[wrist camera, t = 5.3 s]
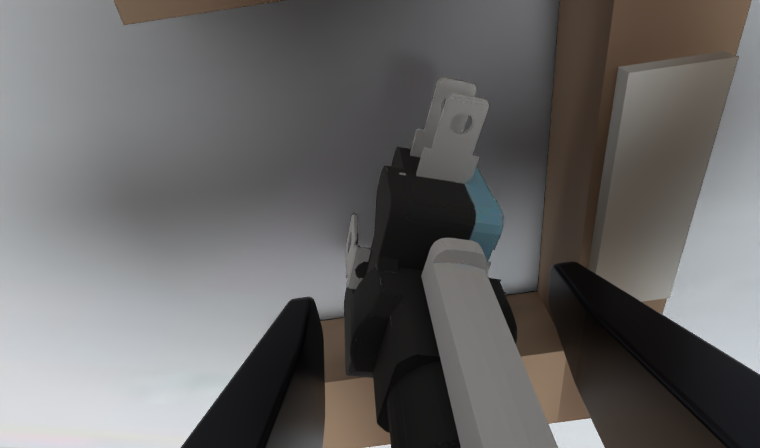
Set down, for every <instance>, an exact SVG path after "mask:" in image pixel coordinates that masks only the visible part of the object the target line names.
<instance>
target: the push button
mask: <svg viewBox="0 0 760 448" xmlns="http://www.w3.org/2000/svg"><path fill="white" fill-rule="evenodd" d="M476 91H477V89H476V87H475V85H474V83H470V82H465V81H460V80H455V79H450V78H445V77H442V78H441V79H439V80H438V81H437V84H436V87H435V91H434V95H433V98H432V102H431V105H430V109H429V113H428V116H427V120H426V124H425V127H424V129H419V128H417V129H416V133H415V136H414V140H413V144H412V148H411V149H407V148H401V147H397V149H396V151H395V154H394V158H393V162H392V166H384V167H383V169H382V172H381V176H380V180H379V184H378V189H377V199H376V217H375V234H374V238H373V242H372V246H371V248H365V247H361V246H359V245H357V244H358V226H357V214H353V215H352V218H351V223H350V227H349V232H348V237H347V241H346V250H345V255H346V278H347V283H346V286H347V288H346V293H345V300H344V324H345V371H346V375H347V376H355V377H369V378H373V381H374V394H375V407H376V420H377V424H378V425H379V426H380V427H381V428H382V429H383V430H385V431H386V432H388V433H390V440H391V448H558V446H557V444H556V442H555V439H554V437H553V434H552V432H551V429H550V427H549V425H548V422H547V420H546V417H545V415H544V412H543V410H542V408H541V405H540V403H539V400H538V398H537V395H536V393H535V391H534V388H533V386H532V383H531V381H530V378H529V376H528V374H527V371H526V369H525V366H524V364H523V361H522V359H521V356H520V354H519V352H518V349H517V347H516V342H517V325H516V321H515V318H514V315H513V312H512V310H511V307H510V305H509V302H508V300H507V298H506V295H505V293H504V291H503V289H502V286H501V284H500V281H501V280H499V279H491V278H488V276H487V272H488V269H489V267H490V265H491V263H490V262H488V260H489V257H490V255H491V252H492V250H495V247H496V245H497V242H498V240H499V238H500V235H501V232H502V228H503V213H502V209H501V208H500V206H499V204H498V202H497V200H495V199H494V198H493V196H492V194H491V192H490V190H489V188H488V187H487V185H486V183H485V181H484V179H483V177H482V176H481V174H480V172H479V170H478V168H477V163H478V161H479V156H475V155H473V152H474V149H475V146H476V143H477V141H478V138H479V135H480V132H481V129H482V126H483V123H484V120H485V117H486V115H487V112H488V109H489V104H488V102H487V100H486V99H484V98H478V97H475V94H476ZM444 99H446V100H445V103H444V107H443V110H441V104H442V102H443V100H444ZM468 115H470V116H471V118H472V124H471V126H470V128H469V129H468V130H467V131H465V132H463V131H464V127H465V124H466V121H467V118H468Z"/></svg>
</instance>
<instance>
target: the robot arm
mask: <svg viewBox="0 0 760 448" xmlns="http://www.w3.org/2000/svg"><path fill="white" fill-rule="evenodd" d="M548 305H549V309H550V312H551V315H552V318H553V321H554V324H555V327H556V330H557V333H558V336H559V339H560V342H561V345H562V348H563V351H564V354H565V356H566V359H567V362H568V365H569V368H570V371H571V374H572V377H573V380H574V382H575V385H576V387H577V389H578V392H579V394H580V396H581V398H582V400H583V402H584V405H585V407H586V409H587V411H588V413H589V415H590V417H591V419H592V421H593V424H594V426H595V428H596V430H597V432H598V434H599V436H600V438H601V440H602V443H603V445H604V447H605V448H760V374H758V373H756V372H755V371H753V370H752V369H750V368H748V367H747V366H745V365H743V364H742V363H740V362H739V361H737V360H735V359H734V358H732V357H730V356H729V355H727V354H726V353H724V352H722V351H721V350H719V349H717V348H716V347H714V346H713V345H711V344H709V343H708V342H706V341H704V340H703V339H701V338H700V337H698V336H696V335H695V334H693V333H691V332H690V331H688V330H687V329H685V328H683V327H682V326H680V325H678V324H677V323H675V322H674V321H672V320H670V319H669V318H667V317H665V316H664V315H662V314H661V313H659V312H657V311H656V310H654V309H652V308H651V307H649V306H648V305H646V304H644V303H643V302H641V301H639V300H638V299H636V298H635V297H633V296H631V295H630V294H628V293H626V292H625V291H623V290H622V289H620V288H618V287H617V286H615V285H613V284H612V283H610V282H609V281H607V280H605V279H604V278H602V277H600V276H599V275H597V274H596V273H594V272H592V271H591V270H589V269H587V268H586V267H584V266H583V265H581V264H579V263H577V262H575V261H569V262H562V263H555V264H553V265H552V267H551V269H550V278H549V289H548ZM324 427H325V371H324V337H323V329H322V325H321V322H320V318H319V315H318V311H317V307H316V304H315V301H314V299H313V298H312V297H303V298H296V299H292V300H290V301H289V302H288V304H287V305H286V306H285V308H284V309H283V310H282V312H281V313H280V314H279V316H278V317H277V318H276V320H275V321H274V322H273V324H272V325H271V326H270V328H269V329H268V331H267V332H266V333H265V335H264V336H263V337H262V339H261V340H260V341H259V343H258V344H257V345H256V347H255V348H254V349H253V351H252V352H251V353H250V355H249V356H248V358H247V359H246V360H245V362H244V363H243V364H242V366H241V367H240V368H239V370H238V371H237V372H236V374H235V375H234V376H233V378H232V379H231V380H230V382H229V383H228V385H227V386H226V387H225V389H224V390H223V391H222V393H221V394H220V395H219V397H218V398H217V399H216V401H215V402H214V403H213V405H212V406H211V407H210V409H209V410H208V412H207V413H206V414H205V416H204V417H203V418H202V420H201V421H200V422H199V424H198V425H197V426H196V428H195V429H194V430H193V432H192V433H191V434H190V436H189V437H188V439H187V440H186V441H185V443H184V444H183V445H182V447H181V448H323V438H324Z"/></svg>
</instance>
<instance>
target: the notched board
mask: <svg viewBox="0 0 760 448" xmlns="http://www.w3.org/2000/svg"><path fill="white" fill-rule="evenodd" d="M277 1H284V0H114V2H115V5H116V7H117V10H118V12H119V14H120V17H121V19H122V22H123V24H124V25H128V24H134V23H141V22H147V21H154V20H160V19H167V18H173V17H180V16H186V15H193V14H199V13H206V12H212V11H219V10H225V9H232V8H238V7H245V6H251V5H258V4H264V3H271V2H277ZM751 1H752V0H560V5H559V18H558V31H557V44H556V57H555V71H554V84H553V97H552V110H551V123H550V136H549V150H548V163H547V176H546V189H545V202H544V215H543V228H542V242H541V255H540V268H539V281H538V291H536V292H529V293H522V294H514V295H507V296H506V298H507V300H508V302H509V305H510V307H511V310H512V312H513V315H514V318H515V321H516V325H517V342H516V347H517V349H518V352H519V354H520V356H521V359H522V361H523V364H524V366H525V369H526V371H527V374H528V376H529V378H530V381H531V383H532V386H533V388H534V391H535V393H536V395H537V398H538V400H539V403H540V405H541V408H542V410H543V412H544V415H545V417H546V420H547V422H548V424H549V423H557V422H565V421H572V420H580V419H588V418H591V417H590V415H589V413H588V411H587V409H586V407H585V405H584V402H583V400H582V398H581V396H580V394H579V392H578V389H577V387H576V385H575V382H574V380H573V377H572V374H571V371H570V368H569V365H568V362H567V359H566V356H565V354H564V351H563V348H562V345H561V342H560V339H559V336H558V333H557V330H556V327H555V324H554V321H553V318H552V315H551V312H550V309H549V305H548V289H549V278H550V269H551V267H552V265H553V264H555V263H562V262H569V261H575V262H577V263H579V264H581V265H583V266H584V267H586V268H587V269H589V270H591V271H592V272H594V273H596V274H597V275H599V276H600V277H602V278H604V279H605V280H607V281H609V282H610V283H612V284H613V285H615V286H617V287H618V288H620V289H622V290H623V291H625V292H626V293H628V294H630V295H631V296H633V297H635V298H636V299H638V300H639V301H641V302H643V303H644V304H646V305H648V306H649V307H651V308H652V309H654V310H656V311H657V312H659V313H661V314H662V313H663V310H664V306H665V303H666V299H667V298H669V297H670V294H671V290H672V287H673V283H674V280H675V276H676V273H677V269H678V266H679V262H680V259H681V255H682V252H683V249H684V245H685V242H686V238H687V235H688V231H689V228H690V224H691V221H692V217H693V214H694V210H695V207H696V203H697V200H698V197H699V193H700V190H701V186H702V183H703V179H704V176H705V172H706V169H707V165H708V162H709V158H710V155H711V151H712V148H713V145H714V141H715V138H716V134H717V131H718V127H719V124H720V120H721V117H722V113H723V110H724V106H725V103H726V99H727V96H728V93H729V89H730V86H731V82H732V79H733V75H734V72H735V68H736V65H737V61H738V58H739V57H738V56H736V53H737V50H738V46H739V43H740V39H741V36H742V32H743V29H744V25H745V22H746V18H747V15H748V11H749V8H750V4H751ZM320 322H321V325H322V329H323V337H324V371H325V427H324V438H323V448H364V447H372V446H380V445H387V444H391V440H390V433H388V432H386V431H385V430H383V429H382V428H381V427H380V426H379V425H378V424H377V420H376V407H375V394H374V381H373V378H369V377H355V376H347V375H346V371H345V324H344V318H339V319H331V320H324V321H320Z"/></svg>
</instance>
